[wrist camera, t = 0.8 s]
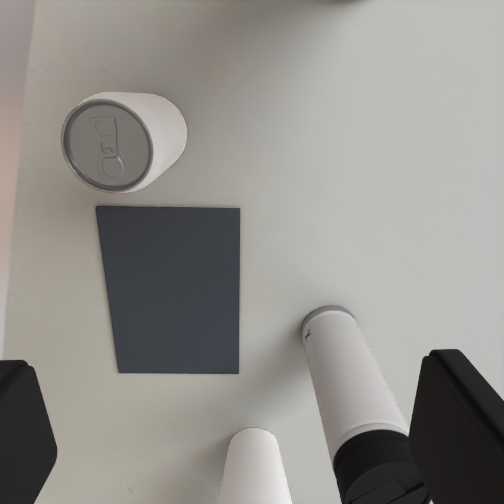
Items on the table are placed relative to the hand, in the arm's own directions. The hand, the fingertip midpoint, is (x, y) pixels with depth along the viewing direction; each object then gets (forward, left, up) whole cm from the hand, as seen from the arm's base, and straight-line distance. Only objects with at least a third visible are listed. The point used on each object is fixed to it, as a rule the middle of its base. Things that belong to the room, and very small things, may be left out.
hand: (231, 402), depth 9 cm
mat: (+13, -7, -29) cm, 32 cm away
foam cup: (+35, +2, -29) cm, 46 cm away
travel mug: (+17, +10, -29) cm, 35 cm away
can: (-4, -8, -29) cm, 30 cm away
